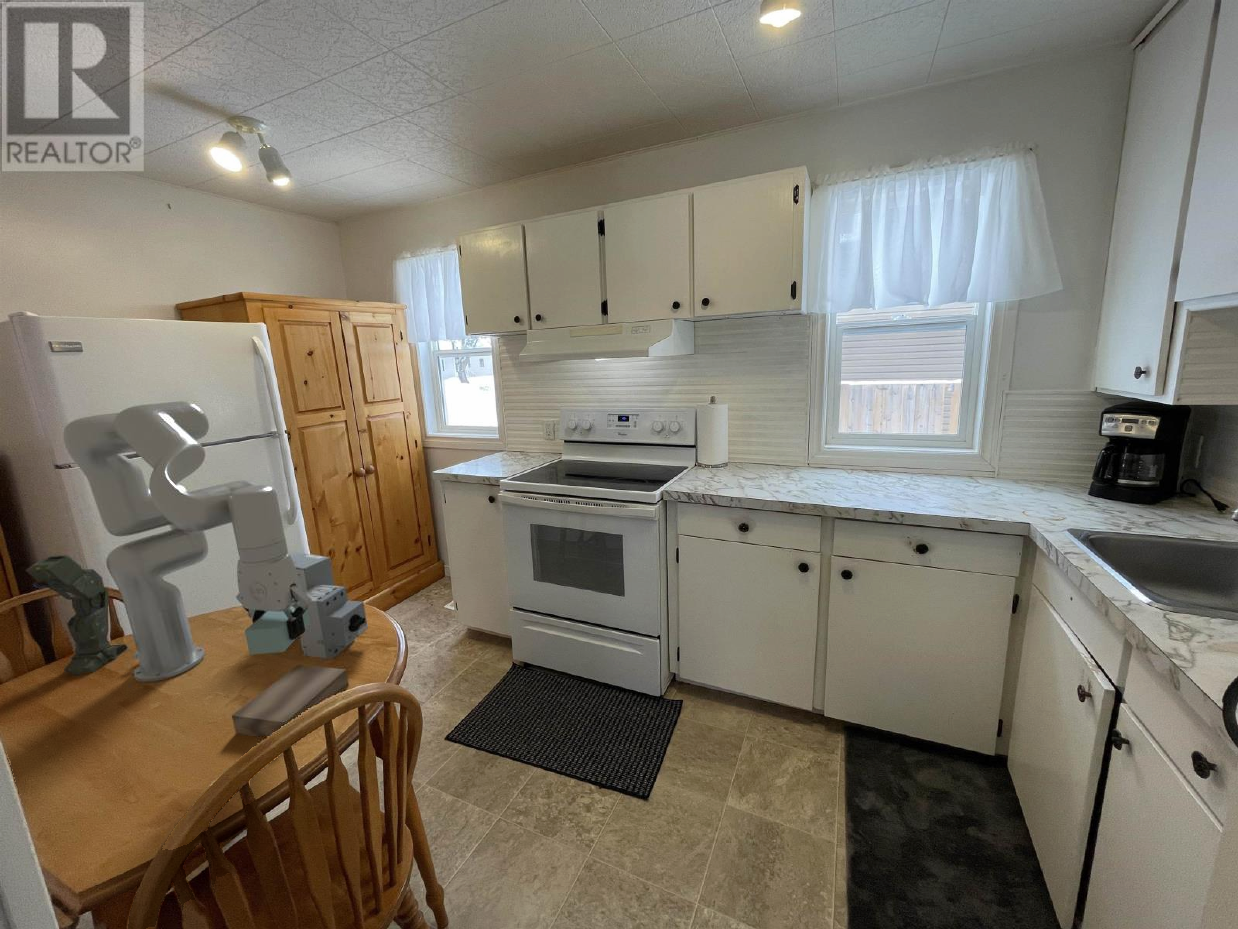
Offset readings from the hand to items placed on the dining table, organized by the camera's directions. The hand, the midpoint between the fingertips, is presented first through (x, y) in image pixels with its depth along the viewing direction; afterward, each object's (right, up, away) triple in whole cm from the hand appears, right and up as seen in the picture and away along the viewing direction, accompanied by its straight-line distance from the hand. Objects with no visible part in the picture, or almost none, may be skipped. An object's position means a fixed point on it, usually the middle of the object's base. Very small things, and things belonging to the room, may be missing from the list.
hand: (280, 633), depth 100 cm
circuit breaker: (-2, -12, +24) cm, 27 cm away
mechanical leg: (-59, -15, +22) cm, 65 cm away
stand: (+1, -17, +4) cm, 17 cm away
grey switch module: (-15, -10, +34) cm, 38 cm away
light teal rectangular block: (0, -1, 0) cm, 1 cm away
